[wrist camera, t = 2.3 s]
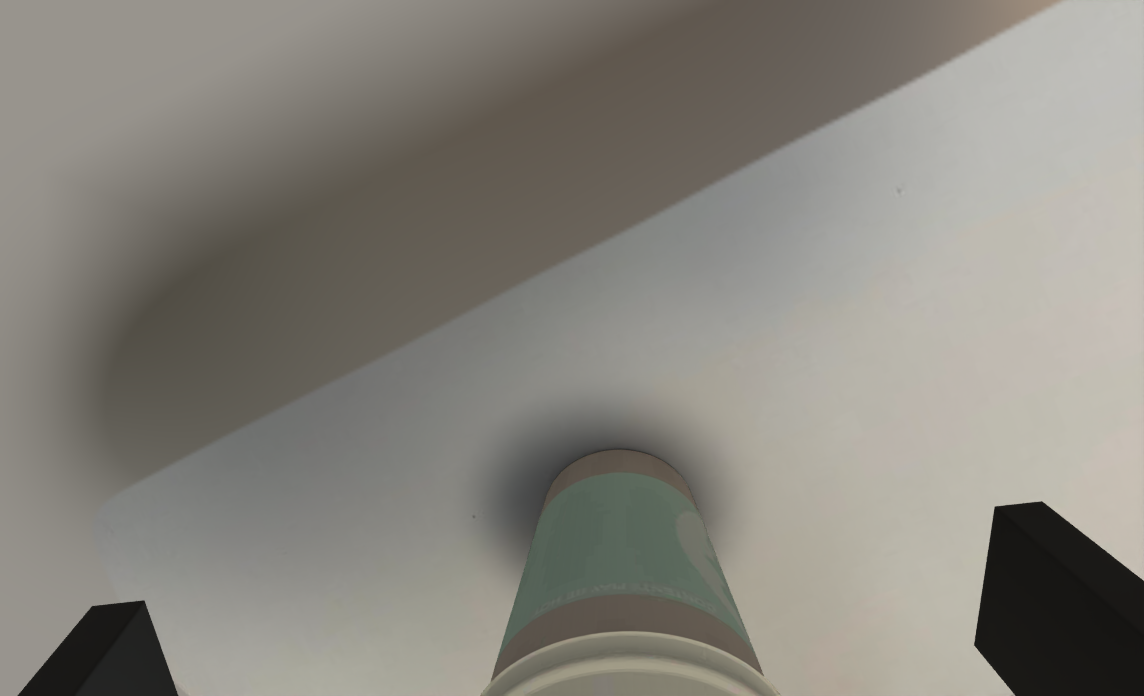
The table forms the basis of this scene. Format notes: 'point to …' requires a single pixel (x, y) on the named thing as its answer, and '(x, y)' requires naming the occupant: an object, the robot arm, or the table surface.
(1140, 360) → the table surface
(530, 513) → the table surface
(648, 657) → the coffee cup
